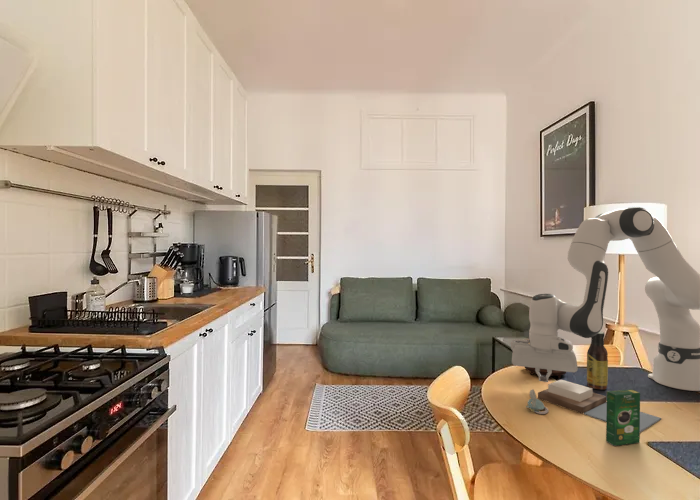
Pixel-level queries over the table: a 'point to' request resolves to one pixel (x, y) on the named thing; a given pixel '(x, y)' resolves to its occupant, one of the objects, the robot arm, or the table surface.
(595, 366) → the sauce bottle
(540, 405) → the pacifier
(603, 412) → the mat
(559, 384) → the tile
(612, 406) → the coffee box
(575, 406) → the board
